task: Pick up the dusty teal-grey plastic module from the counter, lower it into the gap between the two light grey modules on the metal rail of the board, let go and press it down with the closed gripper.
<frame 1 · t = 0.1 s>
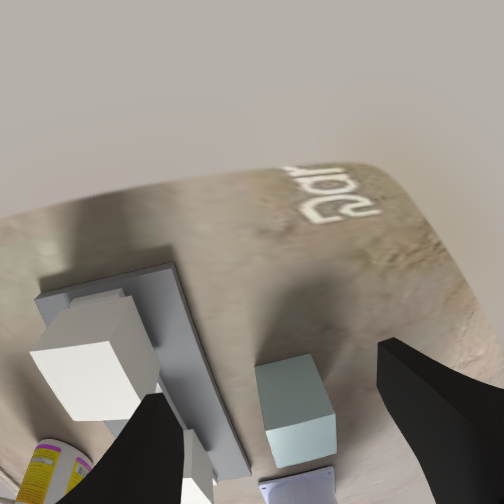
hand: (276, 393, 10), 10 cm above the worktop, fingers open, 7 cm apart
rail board: (158, 405, 22), on the worktop
supplement bottle: (67, 454, 24), on the worktop
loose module: (286, 382, 22), on the worktop
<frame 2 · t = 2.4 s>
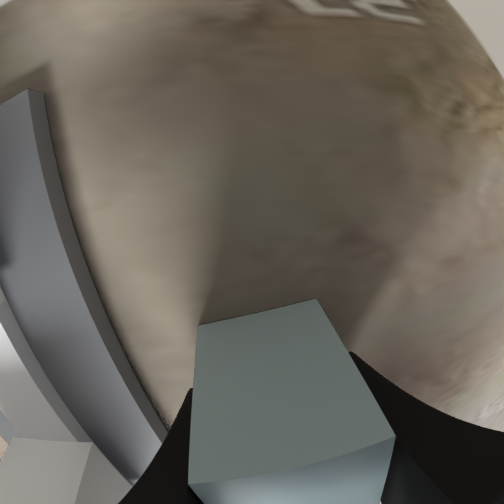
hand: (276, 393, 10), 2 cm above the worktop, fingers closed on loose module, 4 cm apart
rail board: (46, 393, 11), on the worktop
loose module: (269, 364, 11), on the worktop, touching gripper
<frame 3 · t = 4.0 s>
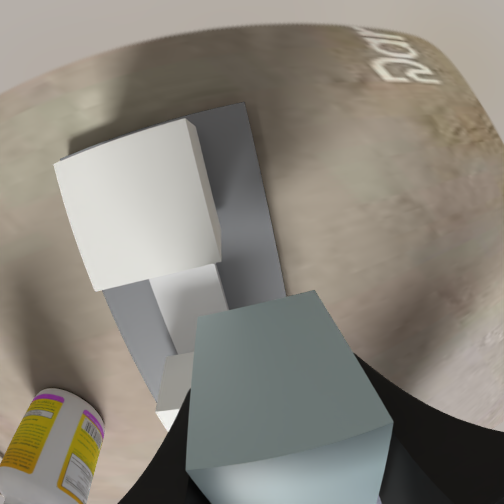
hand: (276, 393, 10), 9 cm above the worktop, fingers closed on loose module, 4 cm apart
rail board: (202, 315, 19), on the worktop
supplement bottle: (71, 412, 21), on the worktop
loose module: (268, 356, 11), point 7 cm above the worktop, touching gripper
when the fingers open (5 cm above the worktop, at t = 5.8 s): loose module stays where it is, resting on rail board.
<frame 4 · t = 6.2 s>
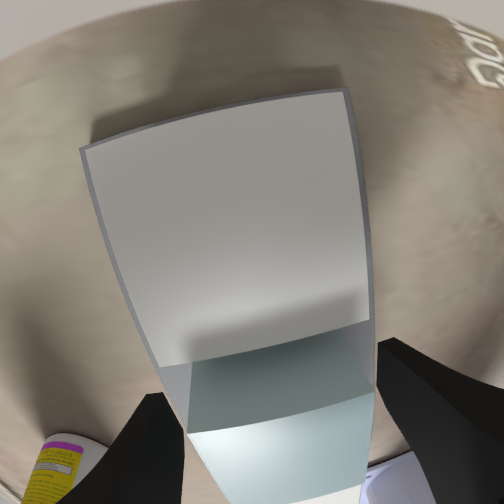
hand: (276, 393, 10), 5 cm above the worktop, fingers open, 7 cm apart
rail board: (267, 356, 15), on the worktop
supplement bottle: (89, 456, 17), on the worktop
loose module: (264, 341, 12), point 2 cm above the worktop, touching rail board
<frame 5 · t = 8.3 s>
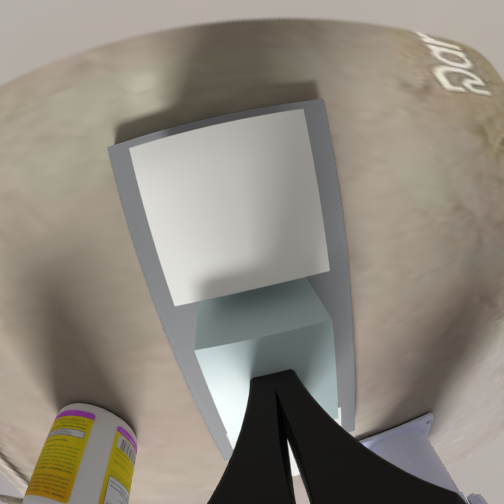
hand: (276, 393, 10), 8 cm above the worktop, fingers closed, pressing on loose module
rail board: (260, 324, 18), on the worktop
supplement bottle: (99, 427, 20), on the worktop
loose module: (256, 305, 15), point 2 cm above the worktop, touching gripper, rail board
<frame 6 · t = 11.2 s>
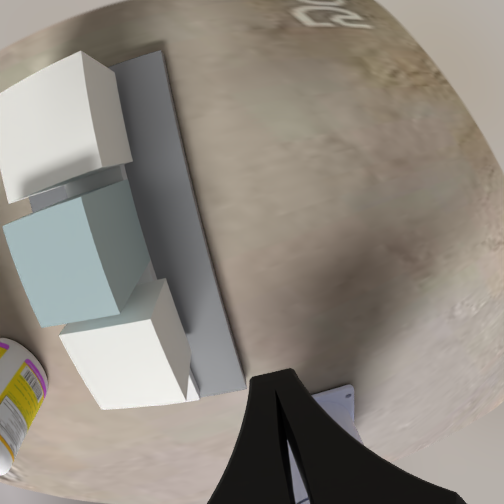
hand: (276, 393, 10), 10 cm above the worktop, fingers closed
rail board: (126, 256, 18), on the worktop
supplement bottle: (20, 366, 21), on the worktop
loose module: (105, 229, 16), point 2 cm above the worktop, touching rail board
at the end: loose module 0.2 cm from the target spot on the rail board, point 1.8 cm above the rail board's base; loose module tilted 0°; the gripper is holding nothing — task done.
